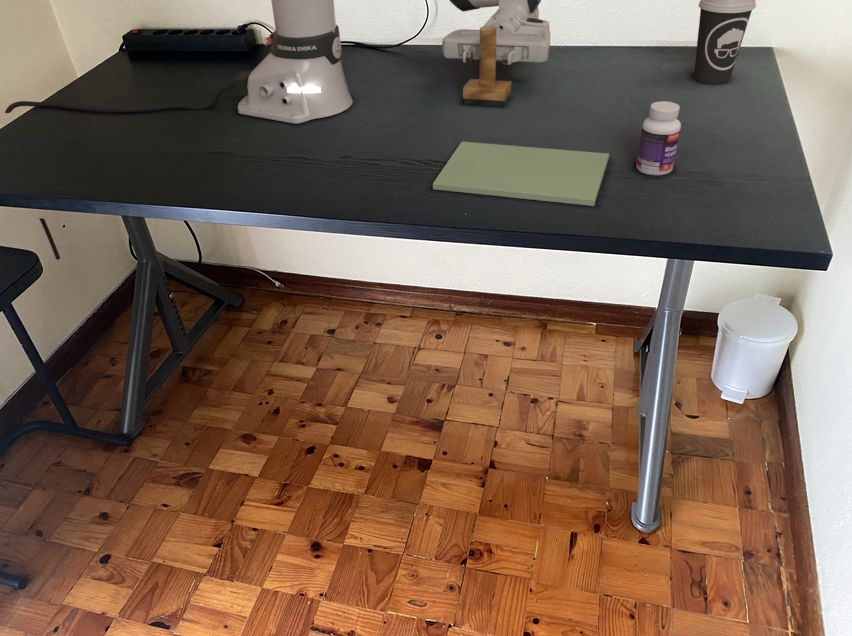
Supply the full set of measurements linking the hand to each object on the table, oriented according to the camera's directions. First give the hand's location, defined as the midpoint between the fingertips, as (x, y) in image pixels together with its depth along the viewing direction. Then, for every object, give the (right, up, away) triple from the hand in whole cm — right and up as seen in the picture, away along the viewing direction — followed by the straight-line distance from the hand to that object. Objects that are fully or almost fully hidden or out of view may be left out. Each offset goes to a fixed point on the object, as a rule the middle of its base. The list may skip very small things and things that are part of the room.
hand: (486, 59), depth 132 cm
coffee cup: (+44, -1, +7) cm, 45 cm away
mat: (+3, -25, -19) cm, 32 cm away
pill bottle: (+23, -25, -21) cm, 40 cm away
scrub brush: (+1, -6, +6) cm, 8 cm away
